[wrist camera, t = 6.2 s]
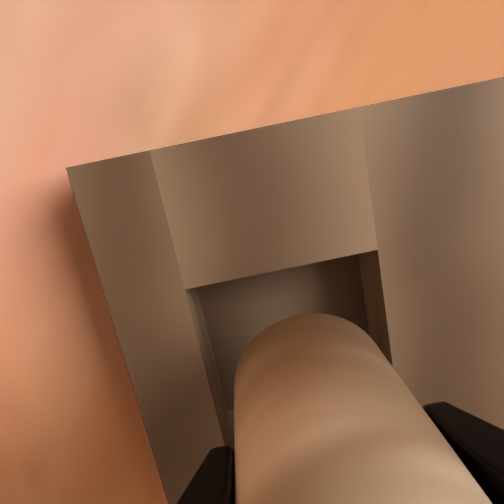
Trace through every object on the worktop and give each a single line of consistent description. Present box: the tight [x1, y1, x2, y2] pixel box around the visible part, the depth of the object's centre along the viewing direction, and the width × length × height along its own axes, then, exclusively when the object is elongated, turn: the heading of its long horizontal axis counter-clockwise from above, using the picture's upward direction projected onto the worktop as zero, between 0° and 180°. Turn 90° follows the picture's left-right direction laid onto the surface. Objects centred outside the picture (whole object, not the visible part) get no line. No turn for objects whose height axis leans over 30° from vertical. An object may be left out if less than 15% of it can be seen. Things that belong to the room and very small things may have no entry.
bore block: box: [66, 77, 504, 504], centre depth 12 cm, size 18×12×2 cm, turn 101°
